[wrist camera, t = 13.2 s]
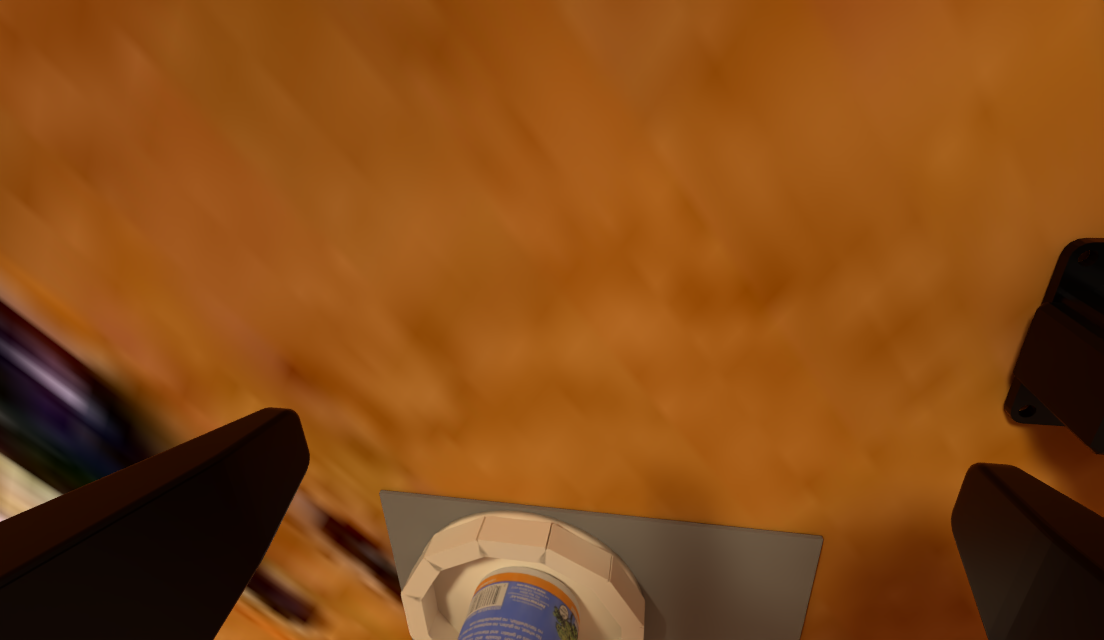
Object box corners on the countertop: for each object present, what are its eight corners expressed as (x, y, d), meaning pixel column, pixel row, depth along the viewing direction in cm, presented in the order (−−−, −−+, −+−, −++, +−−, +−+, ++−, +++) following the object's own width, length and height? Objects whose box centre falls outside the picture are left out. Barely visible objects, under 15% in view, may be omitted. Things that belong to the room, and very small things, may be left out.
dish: (648, 524, 25) (647, 559, 23) (640, 685, 30) (639, 723, 29) (403, 498, 27) (385, 528, 25) (434, 653, 32) (422, 687, 31)
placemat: (821, 535, 24) (823, 539, 24) (782, 706, 29) (782, 710, 29) (381, 490, 27) (379, 492, 27) (416, 648, 33) (415, 652, 33)
